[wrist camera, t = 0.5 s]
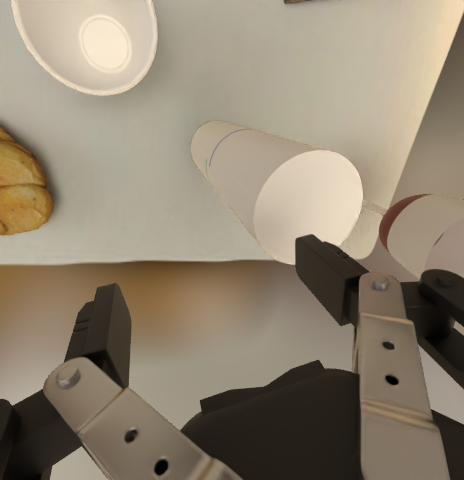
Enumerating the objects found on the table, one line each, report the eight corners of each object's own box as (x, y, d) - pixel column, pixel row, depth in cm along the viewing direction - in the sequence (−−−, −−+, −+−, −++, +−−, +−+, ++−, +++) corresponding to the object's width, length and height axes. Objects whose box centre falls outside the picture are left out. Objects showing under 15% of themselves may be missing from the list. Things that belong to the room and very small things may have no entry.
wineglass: (360, 203, 49) (497, 270, 30) (310, 221, 48) (419, 302, 29) (360, 153, 45) (519, 193, 26) (304, 171, 44) (429, 227, 24)
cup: (47, -28, 27) (-4, -96, 18) (155, 0, 30) (160, -45, 21) (58, 88, 31) (21, 84, 22) (152, 103, 34) (155, 105, 25)
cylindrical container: (249, 131, 39) (383, 172, 17) (231, 181, 41) (328, 272, 19) (200, 111, 36) (284, 130, 14) (183, 166, 38) (235, 252, 17)
